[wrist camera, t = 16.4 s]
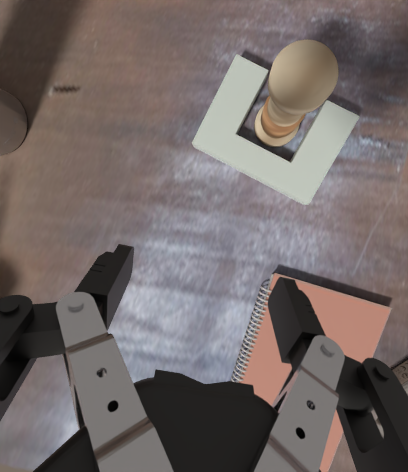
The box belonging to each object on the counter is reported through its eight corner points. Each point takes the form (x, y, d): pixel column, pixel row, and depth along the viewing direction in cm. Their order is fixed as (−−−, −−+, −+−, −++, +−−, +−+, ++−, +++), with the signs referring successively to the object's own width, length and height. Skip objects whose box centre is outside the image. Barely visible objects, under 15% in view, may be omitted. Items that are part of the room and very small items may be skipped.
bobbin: (246, 135, 33) (258, 90, 21) (267, 96, 32) (291, 27, 21) (283, 154, 33) (316, 120, 21) (305, 116, 32) (351, 57, 20)
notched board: (193, 147, 34) (191, 142, 32) (235, 64, 32) (236, 54, 30) (303, 204, 33) (308, 204, 31) (351, 122, 32) (359, 116, 30)
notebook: (265, 267, 35) (267, 271, 33) (383, 303, 34) (393, 308, 32) (211, 433, 38) (210, 445, 36) (319, 470, 37) (324, 485, 35)
